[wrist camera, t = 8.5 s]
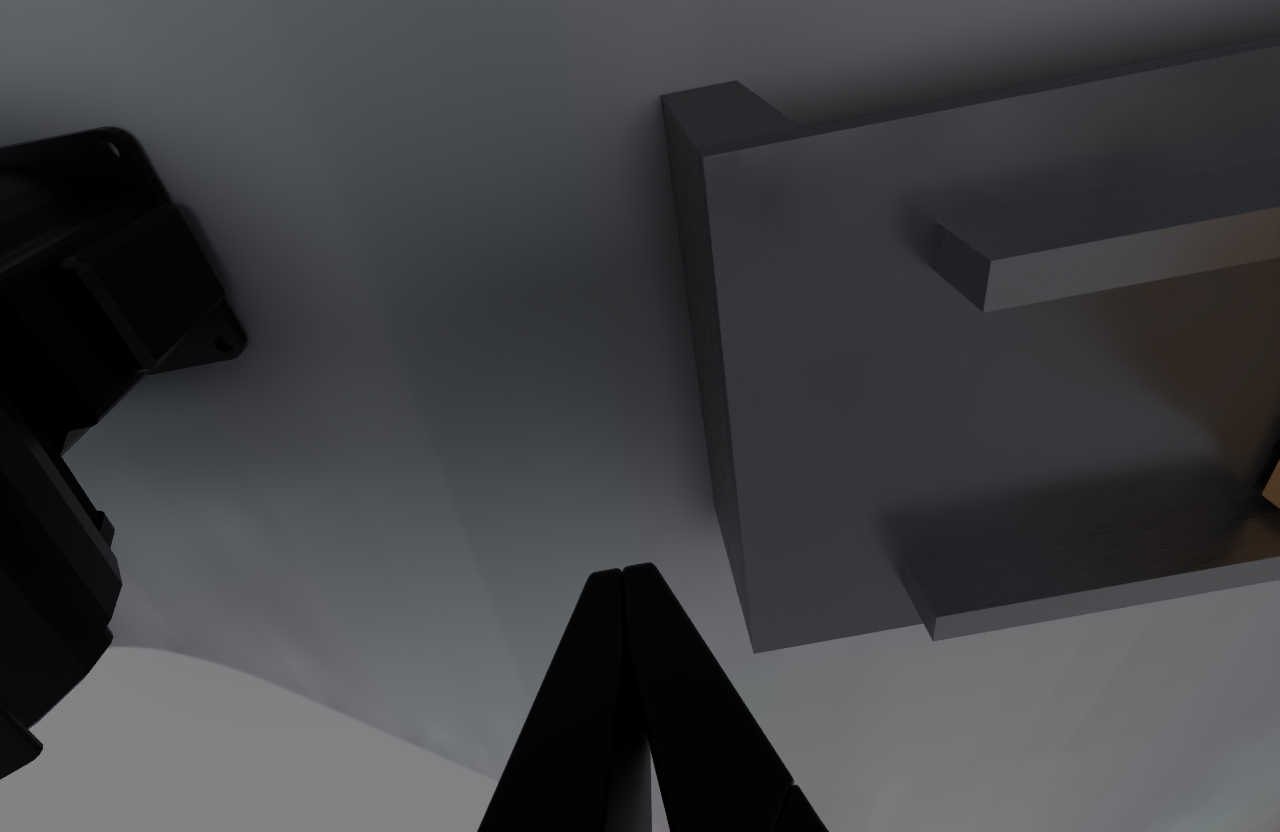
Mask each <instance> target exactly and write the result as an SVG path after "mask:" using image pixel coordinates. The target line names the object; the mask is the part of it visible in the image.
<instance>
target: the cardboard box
mask: <svg viewBox="0 0 1280 832" xmlns="http://www.w3.org/2000/svg"><path fill="white" fill-rule="evenodd" d="M1262 495H1263V496H1264V497H1265V498H1267V499H1268V500H1269V501H1270V502H1272V503H1273V504H1274V505H1276V506H1277V507H1278V508H1280V460H1279V462H1278V464H1277V466H1276V468H1275V470H1274V472H1273V474H1272V475H1271V477H1270V479H1269V481H1268V483H1267V485H1266V487H1265V489H1264V491H1263V493H1262Z"/></svg>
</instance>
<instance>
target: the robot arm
mask: <svg viewBox="0 0 1280 832" xmlns="http://www.w3.org/2000/svg"><path fill="white" fill-rule="evenodd" d="M106 141H108V142H110V143H112V144H114V146H115V147H116V148H117V149H118V151H119V154H120V156H119V158H117V157H115V156H113V155H111V154H110V153H109V152H108V150H107V149H106V146H105V142H106ZM224 294H225V292H224V290H223V288H222V286H221V284H220V282H219V281H218V279H217V277H216V275H215V274H214V272H213V270H212V268H211V267H210V265H209V263H208V261H207V260H206V258H205V256H204V254H203V253H202V251H201V249H200V247H199V246H198V244H197V242H196V240H195V239H194V237H193V235H192V233H191V232H190V230H189V228H188V226H187V225H186V223H185V221H184V219H183V217H182V216H181V214H180V212H179V211H178V210H177V209H175V208H174V207H172V206H171V204H170V202H169V200H168V199H167V197H166V195H165V193H164V192H163V190H162V188H161V187H160V185H159V183H158V181H157V180H156V178H155V176H154V174H153V173H152V171H151V169H150V167H149V166H148V164H147V162H146V160H145V159H144V157H143V155H142V153H141V152H140V150H139V148H138V146H137V145H136V143H135V142H134V141H133V139H132V138H131V137H130V136H129V135H128V134H126V133H125V132H124V131H122V130H120V129H117V128H115V127H100V128H95V129H90V130H85V131H80V132H75V133H70V134H65V135H60V136H55V137H50V138H45V139H39V140H34V141H29V142H24V143H19V144H14V145H9V146H4V147H0V779H2V778H4V777H6V776H7V775H9V774H11V773H13V772H14V771H16V770H18V769H19V768H21V767H23V766H25V765H27V764H28V763H30V762H31V761H33V760H35V759H36V758H37V756H39V755H40V753H41V751H42V750H43V744H42V743H41V742H40V741H39V740H38V739H37V738H36V737H35V736H34V735H33V734H32V733H31V732H30V731H29V730H28V729H30V728H31V727H32V726H33V725H35V724H36V723H38V722H39V721H40V720H41V719H42V718H43V717H44V716H45V715H46V714H47V713H48V712H49V711H50V710H51V709H52V708H53V707H54V706H56V705H57V704H58V703H59V702H60V701H61V700H62V699H63V698H64V697H65V696H66V695H67V694H68V693H69V692H70V691H71V690H72V689H74V687H75V686H77V685H78V684H79V683H80V682H81V681H82V680H83V679H84V678H85V677H86V675H87V674H88V673H89V672H90V670H91V669H92V668H93V666H94V665H95V664H96V662H97V661H98V660H99V658H100V657H101V655H103V653H104V652H105V651H106V649H107V648H108V647H109V645H110V644H111V642H112V639H113V634H112V632H111V630H110V629H109V628H108V626H107V625H108V624H109V622H110V620H111V618H112V615H113V612H114V609H115V606H116V603H117V600H118V596H119V593H120V590H121V587H122V580H121V576H120V571H119V567H118V563H117V558H116V557H115V555H114V554H113V552H112V551H111V549H110V547H111V543H112V539H113V535H114V531H115V529H114V527H113V525H112V524H111V522H110V521H109V519H108V518H107V516H106V515H105V513H104V512H102V511H97V510H96V509H95V507H94V506H93V504H92V503H91V501H90V500H89V498H88V497H87V495H86V493H85V492H84V490H83V489H82V487H81V486H80V484H79V483H78V481H77V480H76V478H75V477H74V475H73V474H72V472H71V471H70V469H69V468H68V466H67V465H66V463H65V461H64V460H63V458H62V457H61V456H62V455H63V454H65V453H66V452H67V451H68V450H69V449H70V448H71V447H72V446H73V445H74V444H75V443H76V442H77V441H78V440H79V439H80V438H81V437H82V436H83V435H84V434H85V433H86V432H87V431H88V430H89V429H90V428H91V427H92V426H94V425H96V424H97V423H98V422H99V421H100V420H101V419H102V418H103V417H104V416H105V415H106V414H107V413H108V412H109V411H110V410H111V409H112V408H113V407H114V406H115V405H116V404H117V403H118V402H119V401H120V400H121V399H122V398H123V397H124V396H125V395H126V394H127V393H128V392H129V391H130V390H131V389H132V388H133V387H134V386H135V385H136V384H137V383H138V382H139V381H140V380H141V379H142V378H143V377H145V376H146V375H151V374H156V373H162V372H167V371H172V370H177V369H183V368H188V367H193V366H198V365H204V364H209V363H214V362H220V361H225V360H230V359H234V358H236V357H238V356H239V355H240V354H241V353H242V351H243V350H244V349H245V348H246V347H247V338H246V335H245V333H244V331H243V330H242V328H241V326H240V324H239V323H238V321H237V319H236V317H235V316H234V314H233V312H232V310H231V309H230V307H229V305H228V303H227V302H226V300H225V298H224ZM220 337H225V338H227V339H229V340H230V341H231V342H232V344H233V346H230V345H227V344H225V343H224V342H223V341H222V340H221V338H220ZM650 750H651V754H652V759H653V763H654V767H655V771H656V775H657V779H658V783H659V787H660V791H661V796H662V800H663V804H664V808H665V812H666V816H667V820H668V824H669V829H670V832H829V831H828V830H827V828H826V827H825V825H824V824H823V822H822V821H821V820H820V818H819V817H818V815H817V814H816V812H815V811H814V809H813V807H812V806H811V804H810V803H809V801H808V800H807V798H806V797H805V795H804V794H803V792H802V791H801V789H800V787H799V786H798V785H794V779H793V777H792V776H791V774H790V773H789V771H788V770H787V768H786V766H785V765H784V763H783V762H782V760H781V759H780V757H779V756H778V754H777V753H776V751H775V750H774V748H773V746H772V745H771V743H770V742H769V740H768V739H767V737H766V736H765V734H764V733H763V731H762V729H761V728H760V726H759V725H758V723H757V722H756V720H755V719H754V717H753V716H752V714H751V712H750V711H749V709H748V708H747V706H746V705H745V703H744V702H743V700H742V699H741V697H740V695H739V694H738V692H737V691H736V689H735V688H734V686H733V685H732V683H731V682H730V680H729V678H728V677H727V675H726V674H725V672H724V671H723V669H722V668H721V666H720V665H719V663H718V661H717V660H716V658H715V657H714V655H713V654H712V652H711V651H710V649H709V648H708V646H707V645H706V643H705V641H704V640H703V638H702V637H701V635H700V634H699V632H698V631H697V629H696V628H695V626H694V624H693V623H692V621H691V620H690V618H689V617H688V615H687V614H686V612H685V611H684V609H683V607H682V606H681V604H680V603H679V601H678V600H677V598H676V597H675V595H674V594H673V592H672V590H671V589H670V587H669V586H668V584H667V583H666V581H665V580H664V578H663V577H662V575H661V573H660V572H659V570H658V569H657V567H656V566H655V565H654V564H653V563H650V562H648V563H642V564H636V565H631V566H627V567H625V568H624V569H623V572H622V571H621V570H620V569H618V568H614V569H609V570H603V571H598V572H594V573H592V574H591V575H590V576H589V577H588V579H587V581H586V584H585V586H584V588H583V590H582V593H581V595H580V597H579V600H578V602H577V604H576V606H575V609H574V611H573V613H572V616H571V618H570V620H569V622H568V625H567V627H566V629H565V632H564V634H563V636H562V639H561V641H560V643H559V645H558V648H557V650H556V652H555V655H554V657H553V659H552V661H551V664H550V666H549V668H548V671H547V673H546V675H545V677H544V680H543V682H542V684H541V687H540V689H539V691H538V694H537V696H536V698H535V700H534V703H533V705H532V707H531V710H530V712H529V714H528V716H527V719H526V721H525V723H524V726H523V728H522V730H521V732H520V735H519V737H518V739H517V742H516V744H515V746H514V749H513V751H512V753H511V755H510V758H509V760H508V762H507V765H506V767H505V769H504V771H503V774H502V776H501V778H500V781H499V783H498V785H497V788H496V790H495V792H494V795H493V797H492V799H491V801H490V804H489V806H488V808H487V811H486V813H485V815H484V817H483V820H482V822H481V824H480V827H479V829H478V831H477V832H652V810H651V756H650Z"/></svg>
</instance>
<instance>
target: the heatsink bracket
mask: <svg viewBox="0 0 1280 832" xmlns="http://www.w3.org/2000/svg"><path fill="white" fill-rule="evenodd" d="M661 99H662V107H663V114H664V122H665V130H666V137H667V145H668V152H669V160H670V168H671V175H672V183H673V191H674V198H675V206H676V213H677V221H678V229H679V236H680V244H681V251H682V259H683V267H684V274H685V282H686V290H687V297H688V305H689V312H690V320H691V328H692V335H693V343H694V351H695V358H696V366H697V373H698V381H699V389H700V396H701V404H702V411H703V419H704V427H705V434H706V442H707V450H708V457H709V465H710V472H711V480H712V488H713V495H714V503H715V511H716V514H717V518H718V522H719V525H720V529H721V533H722V537H723V540H724V544H725V548H726V552H727V555H728V559H729V563H730V567H731V570H732V574H733V578H734V581H735V585H736V589H737V593H738V596H739V600H740V604H741V608H742V611H743V615H744V619H745V623H746V626H747V630H748V634H749V637H750V641H751V645H752V649H753V652H754V654H755V653H760V652H766V651H771V650H777V649H783V648H788V647H794V646H799V645H805V644H811V643H816V642H822V641H827V640H833V639H839V638H844V637H850V636H855V635H861V634H867V633H872V632H878V631H883V630H889V629H895V628H900V627H906V626H912V625H917V624H923V623H924V625H925V627H926V629H927V631H928V633H929V635H930V637H931V638H932V640H933V641H937V640H943V639H949V638H954V637H960V636H966V635H971V634H977V633H982V632H988V631H994V630H999V629H1005V628H1010V627H1016V626H1022V625H1027V624H1033V623H1039V622H1044V621H1050V620H1055V619H1061V618H1067V617H1072V616H1078V615H1084V614H1089V613H1095V612H1100V611H1106V610H1112V609H1117V608H1123V607H1129V606H1134V605H1140V604H1145V603H1151V602H1157V601H1162V600H1168V599H1174V598H1179V597H1185V596H1190V595H1196V594H1202V593H1207V592H1213V591H1218V590H1224V589H1230V588H1235V587H1241V586H1247V585H1252V584H1258V583H1263V582H1269V581H1275V580H1280V508H1278V507H1277V506H1276V505H1274V504H1273V503H1272V502H1270V501H1269V500H1268V499H1267V498H1265V497H1264V496H1263V495H1262V493H1263V491H1264V489H1265V487H1266V485H1267V483H1268V481H1269V479H1270V477H1271V475H1272V474H1273V472H1274V470H1275V468H1276V466H1277V464H1278V462H1279V460H1280V35H1279V36H1274V37H1269V38H1263V39H1258V40H1253V41H1248V42H1243V43H1237V44H1232V45H1227V46H1222V47H1217V48H1212V49H1206V50H1201V51H1196V52H1191V53H1186V54H1180V55H1175V56H1170V57H1165V58H1160V59H1155V60H1149V61H1144V62H1139V63H1134V64H1129V65H1123V66H1118V67H1113V68H1108V69H1103V70H1098V71H1092V72H1087V73H1082V74H1077V75H1072V76H1066V77H1061V78H1056V79H1051V80H1046V81H1041V82H1035V83H1030V84H1025V85H1020V86H1015V87H1009V88H1004V89H999V90H994V91H989V92H984V93H978V94H973V95H968V96H963V97H958V98H952V99H947V100H942V101H937V102H932V103H926V104H921V105H916V106H911V107H906V108H901V109H895V110H890V111H885V112H880V113H875V114H869V115H864V116H859V117H854V118H849V119H844V120H838V121H833V122H828V123H823V124H818V125H812V126H807V127H802V128H800V127H799V126H798V125H796V124H795V123H794V122H792V121H791V120H790V119H788V118H787V117H785V116H784V115H783V114H781V113H780V112H779V111H777V110H776V109H775V108H773V107H772V106H771V105H769V104H768V103H766V102H765V101H764V100H762V99H761V98H760V97H758V96H757V95H756V94H754V93H753V92H751V91H750V90H749V89H747V88H746V87H745V86H743V85H742V84H741V83H739V82H738V81H732V82H727V83H722V84H717V85H711V86H706V87H701V88H696V89H691V90H686V91H681V92H675V93H670V94H665V95H661Z"/></svg>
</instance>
